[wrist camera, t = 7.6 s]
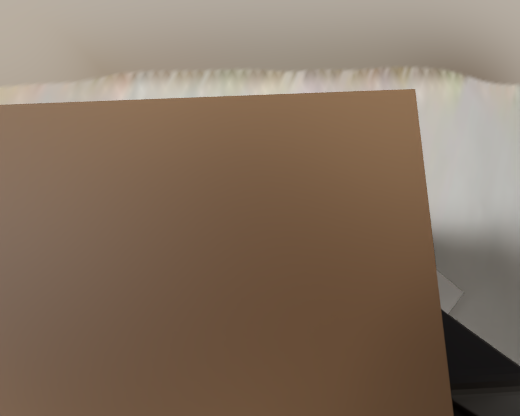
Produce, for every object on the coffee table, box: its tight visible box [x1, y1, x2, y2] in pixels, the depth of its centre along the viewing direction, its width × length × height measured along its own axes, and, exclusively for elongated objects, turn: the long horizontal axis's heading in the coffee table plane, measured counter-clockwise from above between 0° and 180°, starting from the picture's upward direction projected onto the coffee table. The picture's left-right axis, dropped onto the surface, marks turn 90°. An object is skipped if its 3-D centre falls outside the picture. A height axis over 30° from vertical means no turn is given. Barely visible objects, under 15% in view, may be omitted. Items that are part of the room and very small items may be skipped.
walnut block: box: [0, 89, 454, 416], centre depth 9 cm, size 5×5×13 cm
